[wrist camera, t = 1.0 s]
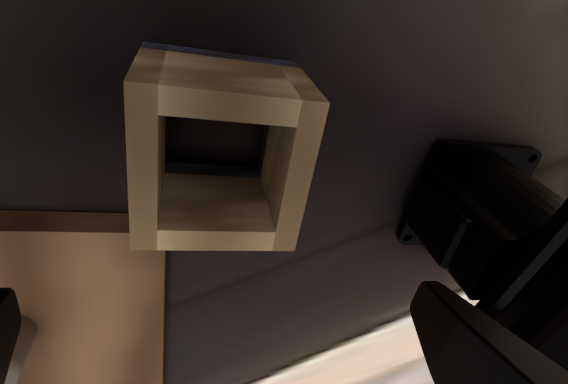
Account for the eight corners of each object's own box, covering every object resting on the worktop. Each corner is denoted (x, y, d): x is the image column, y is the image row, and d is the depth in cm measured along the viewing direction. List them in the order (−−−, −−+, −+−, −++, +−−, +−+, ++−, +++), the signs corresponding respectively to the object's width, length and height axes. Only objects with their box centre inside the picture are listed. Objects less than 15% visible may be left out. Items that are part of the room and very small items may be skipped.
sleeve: (295, 61, 16) (330, 103, 12) (272, 184, 19) (294, 251, 15) (143, 41, 15) (123, 80, 11) (144, 178, 18) (130, 250, 14)
